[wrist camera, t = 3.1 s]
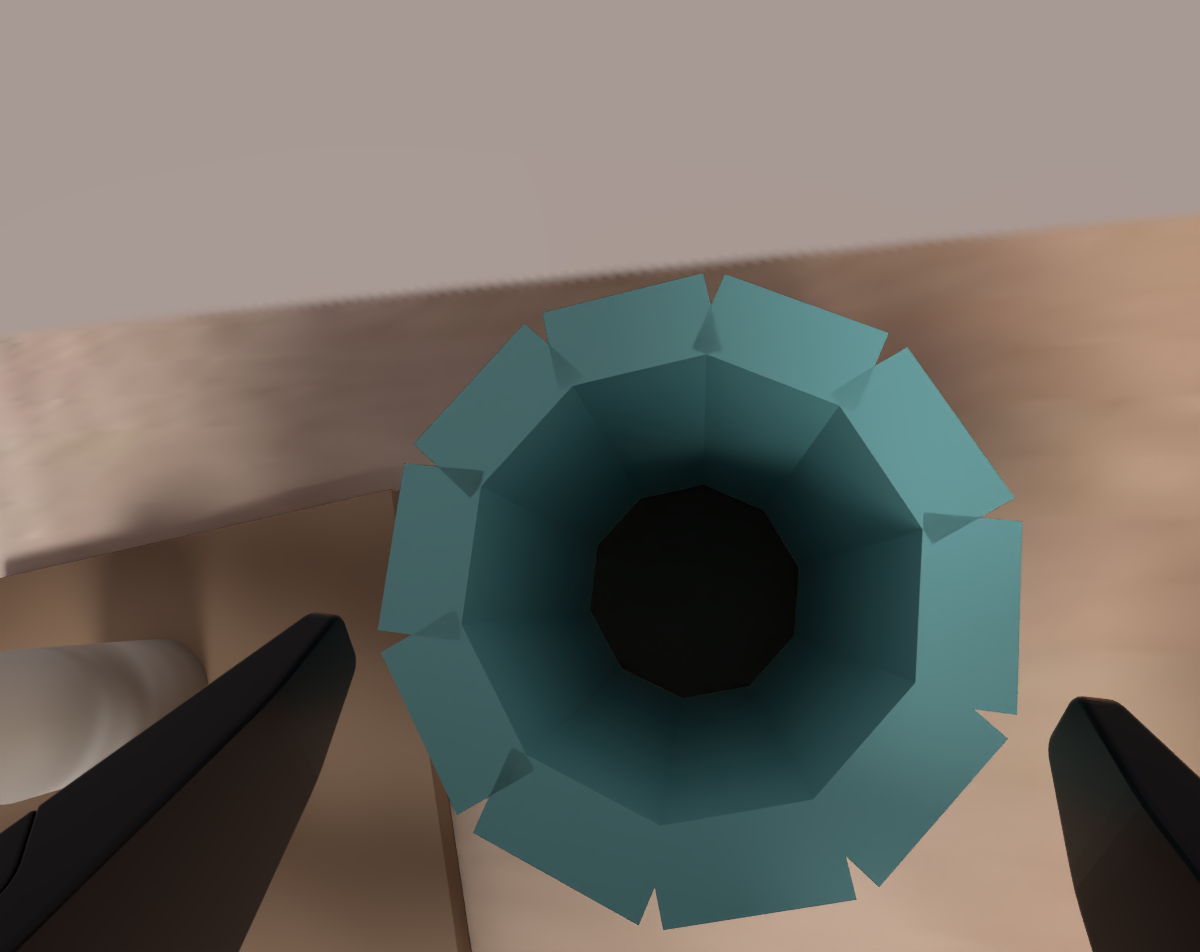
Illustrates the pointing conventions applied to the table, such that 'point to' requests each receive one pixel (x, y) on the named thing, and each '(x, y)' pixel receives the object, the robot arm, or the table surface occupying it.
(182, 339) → the table surface
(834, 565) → the teal collar
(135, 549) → the peg board
